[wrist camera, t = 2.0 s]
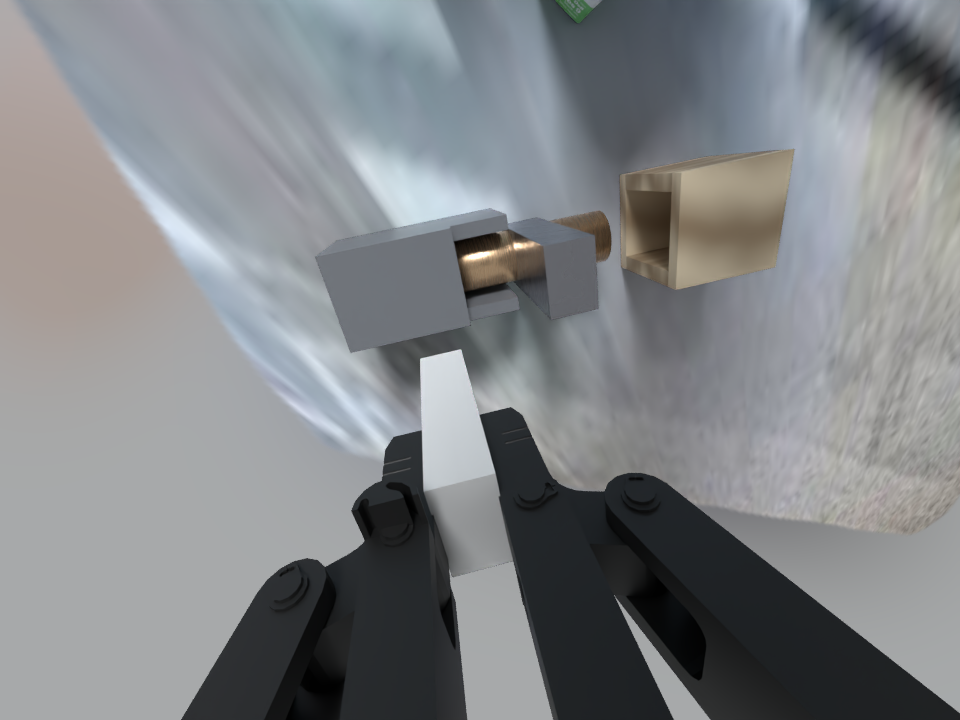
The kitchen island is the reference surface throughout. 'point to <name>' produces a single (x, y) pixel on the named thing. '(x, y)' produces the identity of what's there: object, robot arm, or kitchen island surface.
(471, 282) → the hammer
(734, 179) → the socket
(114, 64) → the kitchen island surface
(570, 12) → the ink box
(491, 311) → the sleeve
